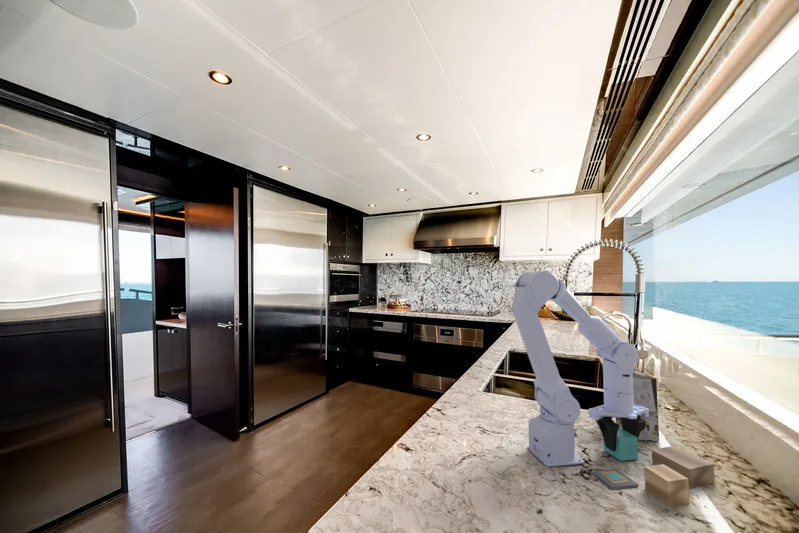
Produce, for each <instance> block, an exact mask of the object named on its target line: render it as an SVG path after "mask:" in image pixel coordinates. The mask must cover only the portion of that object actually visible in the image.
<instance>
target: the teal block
mask: <svg viewBox="0 0 799 533" xmlns="http://www.w3.org/2000/svg"><path fill="white" fill-rule="evenodd" d="M602 438H603V437H602ZM602 441H603V450H604V451H605V452H607V453H608V454H609V455H611V456H612V457H614V458H615V459H617V460H619V461H620V462H622V461H632V460H639V455H638V454H639V452H638V440H637V437H636V436H634V435H632V434H631V433H629V432H627V431H625V430H623V429H622V428H620V427H619V429H618V432H617V437H616V450H615V451H611V450H610V449H608V448H607V447H606V445H605V442H604V438H603V440H602Z"/></svg>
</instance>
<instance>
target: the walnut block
mask: <svg viewBox="0 0 799 533" xmlns="http://www.w3.org/2000/svg"><path fill="white" fill-rule="evenodd" d="M651 462H652V465H661V464H664V465H666V466H667V467H669V468H671V469H672V470H674V471H676V472H677V473H679V474H681V475H683V476H684V477H686V478H688V481H689V490H691V489H695V488H698V487H702V486H707V485H712V484H715V483H716V478H715V464H714V463H712V462H711V461H709V460H706V459H704V458H702V457H700V456H698V455H695V454H693V453H692V452H689V451H687V450H685V449H683V448H680V447H678V446H677V445H670V446H666V447H660V448H656V449H655V448H654V449H651ZM652 465H651V466H652Z"/></svg>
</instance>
